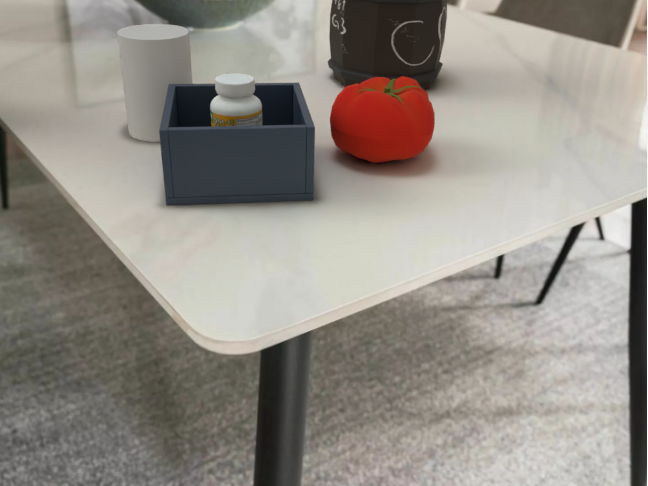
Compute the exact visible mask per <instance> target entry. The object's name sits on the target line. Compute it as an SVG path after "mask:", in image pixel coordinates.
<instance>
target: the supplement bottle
mask: <svg viewBox="0 0 648 486" xmlns="http://www.w3.org/2000/svg"><path fill="white" fill-rule="evenodd" d="M255 83H256V81H255V77H254V76H252V75H250V74H245V73H237V72H236V73H235V72H233V73H223V74H220V75H217V76H216V77H215V79H214V84H215V90H216V92H217V93H218V94H219V95H218V96H216V97H215V98H214V99H213V100H212V101H211V104H210V112H211V127H212V126H263V125H262V104H261V101H260V100H259V99H258V98H257V97H256V96H254V95H253V93H254V92H255Z"/></svg>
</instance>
